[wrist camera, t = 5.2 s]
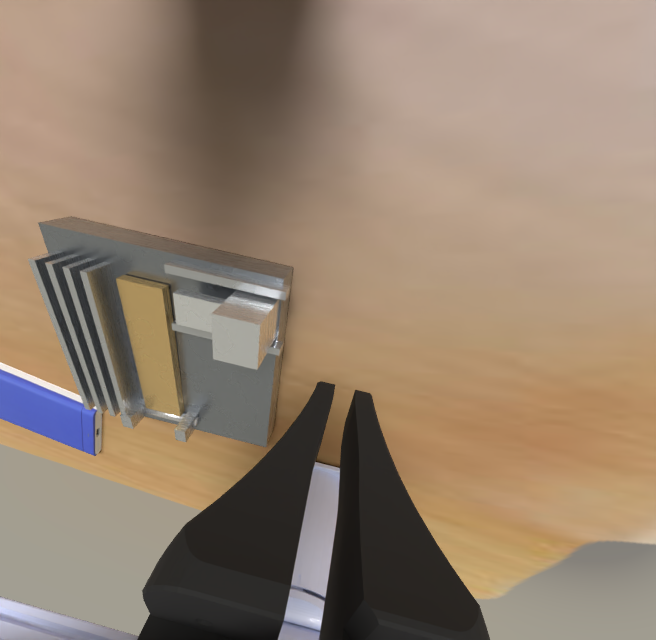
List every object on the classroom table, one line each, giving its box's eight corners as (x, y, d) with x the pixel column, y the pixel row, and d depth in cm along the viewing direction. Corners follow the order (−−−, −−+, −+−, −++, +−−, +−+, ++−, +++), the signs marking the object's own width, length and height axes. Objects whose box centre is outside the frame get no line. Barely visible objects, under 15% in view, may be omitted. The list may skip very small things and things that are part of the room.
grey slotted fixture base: (278, 428, 25) (263, 469, 22) (119, 388, 25) (80, 422, 22) (299, 268, 17) (281, 294, 14) (71, 216, 18) (2, 229, 14)
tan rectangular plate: (184, 410, 22) (180, 416, 22) (151, 402, 22) (145, 407, 22) (168, 285, 17) (162, 289, 16) (123, 274, 17) (115, 278, 16)
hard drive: (-24, 411, 29) (93, 458, 30) (-44, 357, 25) (92, 413, 26) (-6, 400, 31) (105, 445, 32) (-23, 347, 26) (106, 401, 28)
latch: (276, 336, 17) (257, 370, 15) (192, 316, 18) (158, 345, 15) (280, 296, 16) (260, 325, 13) (189, 275, 16) (151, 299, 13)
